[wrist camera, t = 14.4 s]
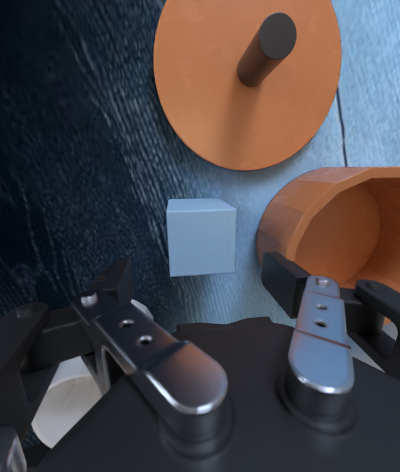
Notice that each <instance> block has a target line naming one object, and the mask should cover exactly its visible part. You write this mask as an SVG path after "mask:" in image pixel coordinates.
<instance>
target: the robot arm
mask: <svg viewBox="0 0 400 472" xmlns="http://www.w3.org/2000/svg"><path fill="white" fill-rule="evenodd" d="M261 280H262V284H263V286H264V287H265V288H266V289H267V290H268V292H269V293H270V294H271V295H272V296H273V298H274V299H275V300H276V301H277V303H278V304H279V305H280V306H281V307H282V309H283V310H284V311H285V312H286V313H287V315H288V316H289V317H290V318H291V319H294V318H297V322H296V326H295V328H293V327H290V326H287V325H283V324H278V323H273V322H272V321H271V319H270V318H269V316H268V317H257V318H247V319H243V320H240V321H237V322H233V323H230V324H225V325H224V324H211V323H191V324H180V325H177V332H175V333H172V334H170V333H169V332H167V331H166V330H165V329H164V328H162V327H161V326H160V325H159V324H157V323H156V322H155V321H154V320H152V319H151V318H150V317H149V316H147V315H146V314H145V313H144V312H142V311H141V310H140V309H139V308H137V307H136V306H135V305H134V304H132V303H131V300H132V297H133V291H134V284H133V273H132V263H131V259H117V260H116V262H115V264H114V265H113V267H112V268H107V269H105V270H104V271H102V272H101V273H100V274H99V276H98V278H97V279H96V280H95V282H94V283H93V285H92V286H91V288H90V289H89V291H85V292H82V293H80V294H78V295H76V296H75V297H74V298H73V299H72V300H71V306H69V307H65V308H61V309H57V310H53V311H49V309H48V305H47V304H46V303H44V302H33V303H28V304H24V305H22V306H19V307H17V308H15V309H13V310H11V311H10V312H8V313H7V314H6V315H5V316H4V317H3V318H2V319H1V320H0V472H26V460H25V457H24V454H23V451H22V448H21V444H22V442H23V440H24V438H25V436H26V434H27V432H28V430H29V428H30V425H31V423H32V421H33V419H34V417H35V415H36V413H37V411H38V409H39V407H40V405H41V403H42V400H43V398H44V396H45V394H46V392H47V390H48V388H49V386H50V384H51V382H52V380H53V378H54V375H55V373H56V371H57V369H58V367H59V365H60V363H61V362H64V361H67V360H70V359H73V358H76V357H79V356H81V359H82V361H83V362H84V364H85V366H86V367H87V369H88V371H89V372H90V374H91V375H92V377H93V379H94V380H95V382H96V384H97V385H98V387H99V390H100V392H101V396H102V397H101V398H100V399H99V400H98V401H97V402H96V404H95V405H94V406H93V407H92V408H91V409H90V410H89V411H88V412H87V413H86V414H85V415H84V416H83V417H82V418H81V419H80V420H79V421H78V422H77V423H76V424H75V425H74V426H73V427H72V428H71V429H70V430H69V431H68V432H67V433H66V434H65V435H64V436H63V437H62V438H61V439H60V440H59V441H58V442H57V443H56V444H55V446H54V447H53V448H52V449H51V450H50V451H49V452H48V453H47V455H46V456H45V458H44V459H43V460H42V461H41V463H40V464H39V466H38V467H37V469H36V470H35V472H400V293H399V292H398V291H396V290H394V289H392V288H390V287H389V286H387V285H385V284H383V283H380V282H377V281H374V280H367V279H360V280H357V281H356V283H355V288H354V289H351V288H341V287H339V283H338V282H337V281H335V280H334V279H332V278H329V277H326V276H320V275H311V274H310V273H308V272H307V271H306V270H304V269H303V268H302V267H300V266H299V265H297V264H296V263H295V262H293V261H291V260H288V259H286V258H285V257H284V256H282V255H281V254H280V253H278V252H265V253H264V254H263V261H262V273H261ZM385 317H387V318H388V319H389V320H391V321H392V322H393V323H394V324H395V325H396V327H397V330H398V336H397V339H396V341H395V340H394V339H393V338H391V337H390V336H388V335H387V334H386V333H385V332H384V331H383V330H382V327H383V324H384V320H385ZM347 335H348V336H349V337H350V338H352V340H353V341H354V342H355V343H356V344H357V345H358V346H359V347H360V348H361V349H362V350H363V351H364V352H365V353H366V354H367V355H368V356H370V358H371V359H372V360H373V361H374V362H375V363H376V364H377V365H378V366H379V367H380V368H382V369H383V370H384V371H385V372H383V371H381V370H378V369H376V368H374V367H372V366H370V365H368V364H366V363H364V362H362V361H360V360H358V359H356V358H354V357H352V351H351V348H350V346H348V340H347Z"/></svg>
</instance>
